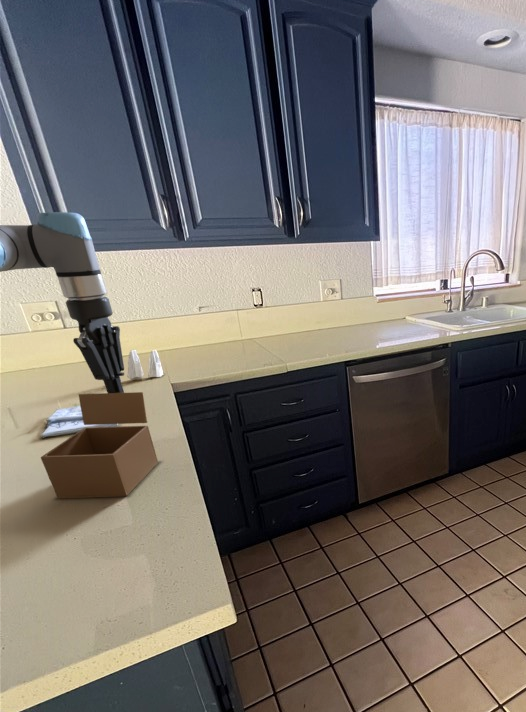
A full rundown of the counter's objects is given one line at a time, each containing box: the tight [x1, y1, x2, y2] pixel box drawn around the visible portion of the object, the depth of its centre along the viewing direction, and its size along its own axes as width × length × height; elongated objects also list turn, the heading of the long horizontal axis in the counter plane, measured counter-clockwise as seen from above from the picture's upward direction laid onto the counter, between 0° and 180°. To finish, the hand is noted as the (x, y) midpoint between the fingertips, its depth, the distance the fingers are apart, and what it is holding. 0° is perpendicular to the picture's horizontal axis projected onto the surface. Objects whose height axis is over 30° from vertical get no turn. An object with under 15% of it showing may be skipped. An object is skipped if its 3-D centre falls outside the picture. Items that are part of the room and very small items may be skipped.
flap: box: [78, 391, 148, 425], centre depth 94 cm, size 14×7×1 cm
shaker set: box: [126, 349, 164, 381], centre depth 157 cm, size 12×4×11 cm, turn 123°
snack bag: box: [40, 405, 119, 439], centre depth 123 cm, size 19×20×2 cm
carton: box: [40, 425, 159, 499], centre depth 91 cm, size 14×14×10 cm
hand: (120, 405), depth 97 cm, fingers closed
